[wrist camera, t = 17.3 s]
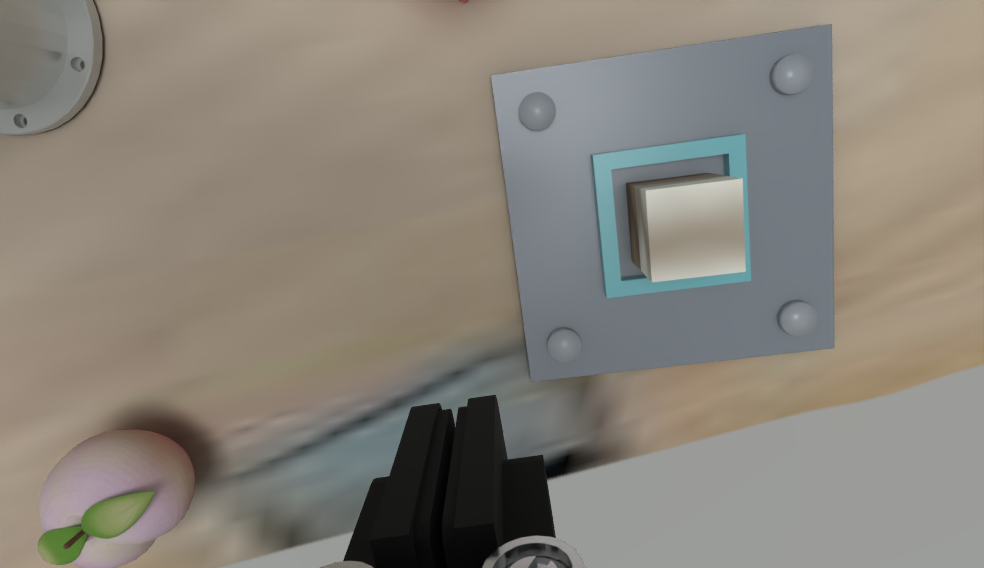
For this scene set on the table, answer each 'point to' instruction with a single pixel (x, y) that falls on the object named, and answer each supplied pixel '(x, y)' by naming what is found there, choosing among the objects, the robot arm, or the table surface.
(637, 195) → the smooth beige block
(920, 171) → the table surface
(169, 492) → the decorative fruit
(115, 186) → the table surface
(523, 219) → the baseplate
